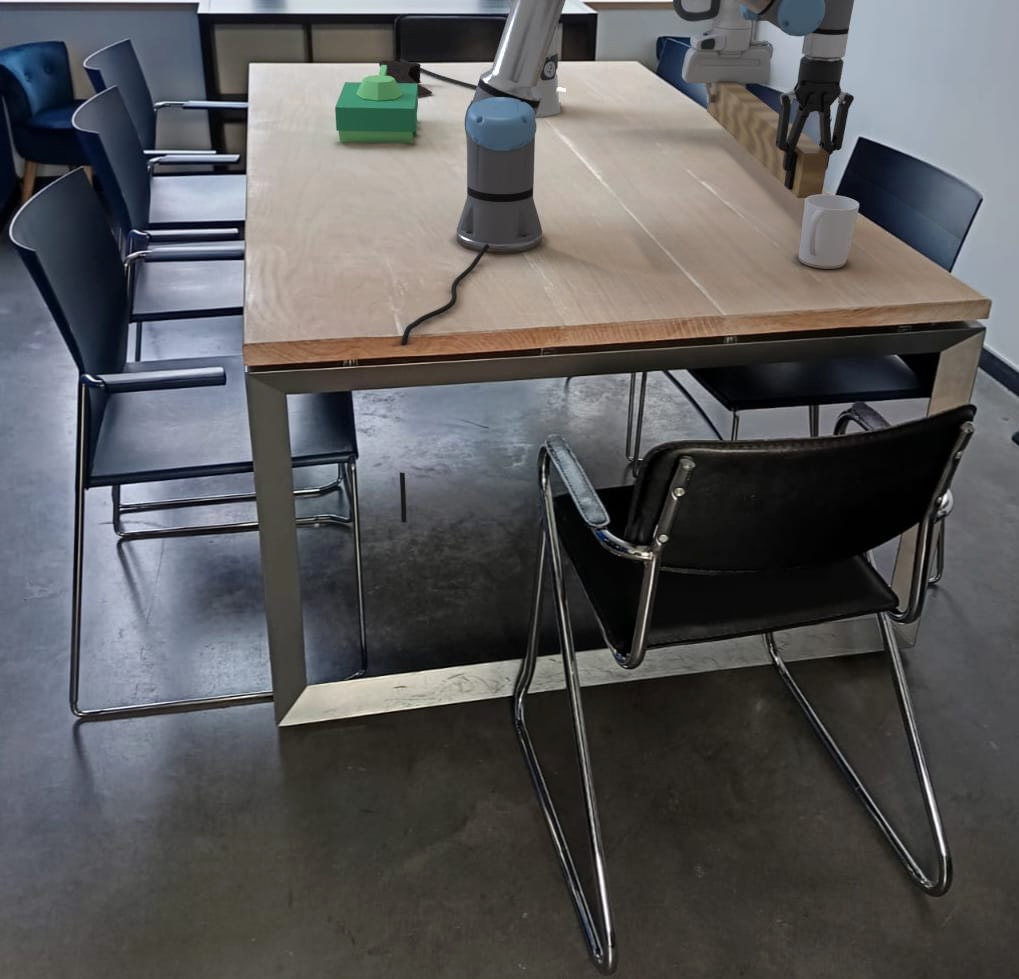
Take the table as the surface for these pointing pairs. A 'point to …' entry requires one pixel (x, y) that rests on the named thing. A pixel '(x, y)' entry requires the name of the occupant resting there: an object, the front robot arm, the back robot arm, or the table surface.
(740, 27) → the back robot arm
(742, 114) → the beam
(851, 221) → the mug
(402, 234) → the table surface
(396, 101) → the green tank
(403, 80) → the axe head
